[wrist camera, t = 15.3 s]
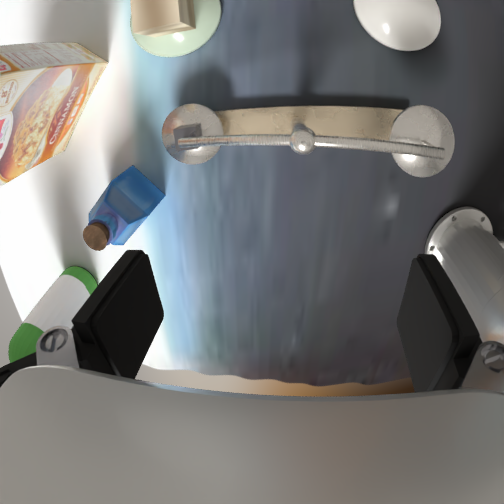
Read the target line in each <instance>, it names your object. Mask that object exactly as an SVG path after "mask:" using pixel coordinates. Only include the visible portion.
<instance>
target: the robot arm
mask: <svg viewBox="0 0 504 504" xmlns="http://www.w3.org/2000/svg"><path fill="white" fill-rule="evenodd" d="M163 317H164V311H163V307H162V304H161V300H160V297H159V293H158V290H157V286H156V283H155V279H154V275H153V272H152V268H151V264H150V260H149V257H148V255H147V254H145V253H144V252H143V251H142V250H127V251H126V252H125V253H124V254H123V255H122V257H121V258H120V259H119V260H118V261H117V263H116V264H115V265H114V266H113V267H112V269H111V270H110V271H109V272H108V274H107V275H106V276H105V277H104V279H103V280H102V281H101V282H100V284H99V285H98V286H97V287H96V289H95V290H94V291H93V293H92V294H91V295H90V296H89V298H88V299H87V300H86V302H85V303H84V304H83V306H82V307H81V308H80V309H79V311H78V312H77V313H76V315H75V316H74V318H73V319H72V320H71V322H72V324H73V327H72V328H71V329H70V328H69V327H67V326H63V325H62V326H55V327H52V328H50V329H48V330H46V331H45V332H44V333H43V334H42V335H41V336H40V337H39V339H38V341H37V344H36V352H34V353H32V354H30V355H27V356H25V357H23V358H21V359H18V360H16V361H14V362H12V363H9V364H7V365H5V366H3V367H1V368H0V504H504V241H499V240H498V239H497V238H496V237H495V236H494V235H493V229H492V225H491V222H490V220H489V219H488V217H487V216H486V215H485V214H484V213H483V212H482V211H480V210H478V209H477V208H473V207H460V208H457V209H454V210H452V211H450V212H449V213H447V214H445V215H444V216H443V217H442V218H441V219H440V220H439V221H438V222H437V223H436V224H435V226H434V227H433V229H432V230H431V232H430V234H429V236H428V239H427V242H426V246H425V254H419V255H418V256H417V258H414V259H413V260H412V264H411V268H410V272H409V277H408V281H407V285H406V288H405V292H404V296H403V300H402V303H401V307H400V310H399V314H398V317H397V327H398V330H399V334H400V337H401V341H402V344H403V348H404V351H405V355H406V359H407V362H408V366H409V370H410V374H411V378H412V382H413V386H414V391H415V393H406V394H390V395H374V396H348V397H300V396H273V395H256V394H242V393H230V392H220V391H211V390H202V389H194V388H186V387H178V386H172V385H165V384H159V383H153V382H147V381H142V380H136V379H135V377H136V375H137V373H138V371H139V368H140V366H141V364H142V362H143V360H144V358H145V356H146V354H147V352H148V349H149V347H150V345H151V343H152V341H153V339H154V337H155V335H156V333H157V331H158V329H159V327H160V325H161V323H162V320H163Z"/></svg>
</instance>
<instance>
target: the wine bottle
mask: <svg viewBox="0 0 504 504" xmlns="http://www.w3.org/2000/svg"><path fill="white" fill-rule="evenodd" d="M96 287H97V283H96V281H95V279H94V278H93V276H92V275H91V274H90V273H89V272H88V271H86V270H85V269H83V268H81V267H77V266H72V267H69V268H67V269H66V270H65V271H64V272H63V273H62V274H61V275H60V276H59V278H58V279H57V280H56V281H55V282H54V283H53V284H52V286H51V287H50V288H49V289H48V291H47V292H46V293H45V294H44V296H43V297H42V298H41V299H40V301H39V302H38V303H37V305H36V306H35V307H34V308H33V310H32V311H31V312H30V314H29V315H28V316H27V318H26V319H25V320H24V322H23V323H22V324H21V326H20V327H19V329H18V330H17V332H16V333H15V334H14V336H13V337H12V339H11V341H10V344H9V360H10V363H12V362H14V361H16V360H18V359H21V358H23V357H25V356H27V355H30V354H32V353H34V352H36V344H37V341H38V339H39V337H40V336H41V335H42V334H43V333H44V332H45V331H46V330H48V329H50V328H52V327H55V326H62V325H63V326H67V327H69V328H70V329H71V328H72V327H73V324H72V322H71V320H72V319H73V318H74V316H75V315H76V313H77V312H78V311H79V309H80V308H81V307H82V306H83V304H84V303H85V302H86V300H87V299H88V298H89V296H90V295H91V294H92V293H93V291H94V290H95V289H96Z"/></svg>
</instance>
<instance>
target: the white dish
mask: <svg viewBox="0 0 504 504" xmlns="http://www.w3.org/2000/svg"><path fill="white" fill-rule="evenodd" d="M353 7H354V11H355V14H356V17H357V19H358V21H359V22H360V24H361V26H362V27H363V28H364V30H365V31H366V32H367V33H368V34H369V35H370V36H371V37H372V38H374V39H375V40H376V41H378V42H379V43H381V44H383V45H385V46H387V47H389V48H392V49H395V50H400V51H414V50H419V49H422V48H425V47H427V46H428V45H430V44H431V43H432V42H433V41H434V40H435V38H436V37H437V35H438V33H439V30H440V25H441V17H440V11H439V8H438V5H437V3H436V1H435V0H353Z"/></svg>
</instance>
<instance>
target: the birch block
mask: <svg viewBox="0 0 504 504" xmlns="http://www.w3.org/2000/svg"><path fill="white" fill-rule="evenodd" d="M130 1H131V15H132V27H133V33H135V34H140V35H145V36H150V37H159V36H163V35H168V34H172V33H177V32H182V31H188V30H193V29H196V26H195V15H194V4H193V0H130Z"/></svg>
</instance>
